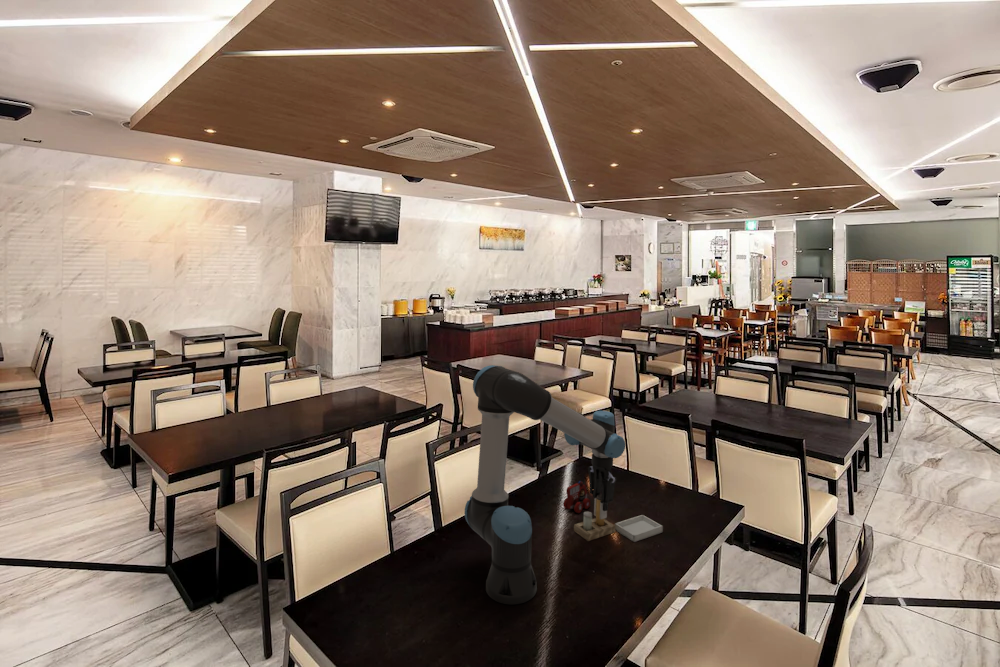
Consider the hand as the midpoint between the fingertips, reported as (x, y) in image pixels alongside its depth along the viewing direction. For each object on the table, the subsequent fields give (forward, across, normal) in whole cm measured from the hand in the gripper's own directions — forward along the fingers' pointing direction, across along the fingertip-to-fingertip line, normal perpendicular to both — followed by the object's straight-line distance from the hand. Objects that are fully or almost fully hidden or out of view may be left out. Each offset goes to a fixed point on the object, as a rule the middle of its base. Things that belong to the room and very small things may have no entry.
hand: (600, 516), depth 189 cm
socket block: (+5, 0, +2) cm, 6 cm away
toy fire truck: (+6, +18, -4) cm, 19 cm away
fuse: (+5, 0, +6) cm, 8 cm away
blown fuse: (+3, 0, 0) cm, 3 cm away
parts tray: (+5, -8, -12) cm, 15 cm away
